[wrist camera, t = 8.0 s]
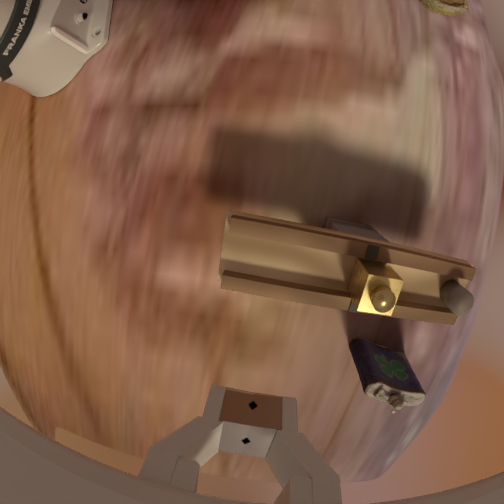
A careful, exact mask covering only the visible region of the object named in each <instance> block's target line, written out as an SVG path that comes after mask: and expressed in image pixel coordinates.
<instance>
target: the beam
mask: <svg viewBox="0 0 504 504" xmlns="http://www.w3.org/2000/svg"><path fill="white" fill-rule="evenodd" d="M356 257H360V258H364V259H366V260H371V261H380V262H385V263H388V264H389V265H390V266H391V267H392V268H393V269H394V270H395V272H396V273H397V274H398V275H399V276H400V277H401V278H402V279H403V280H404V282H403V285H402V288H401V291H400V294H399V296H398V299H397V302H396V305H395V307H394V310H393V313H392V315H391V316H389V315H382V314H375V313H368V312H362V311H357V310H356V307H355V305H354V303H353V301H352V299H351V297H350V294H349V292H348V290H347V287H348V283H349V280H350V277H351V273H352V270H353V266H354V263H355V259H356ZM475 271H476V269H475V268H474V267H473V265H472V264H470V263H469V262H467V261H465V260H462V259H458V258H454V257H450V256H446V255H442V254H438V253H433V252H429V251H425V250H421V249H417V248H412V247H408V246H404V245H400V244H395V243H391V242H389V241H388V240H387V239H385V238H384V237H383V236H382V235H380V234H379V233H378V232H377V231H376V230H374V229H373V228H372V227H371V226H368V225H363V224H359V223H354V222H350V221H345V220H341V219H336V218H331V217H327V220H326V225H325V228H321V227H316V226H311V225H306V224H301V223H296V222H291V221H285V220H280V219H275V218H269V217H264V216H259V215H253V214H248V213H242V212H236V211H231V210H230V211H229V212H228V213H227V217H226V223H225V230H224V237H223V244H222V251H221V258H220V265H219V272H218V280H217V281H218V282H221V288H222V289H227V290H232V291H237V292H243V293H248V294H253V295H259V296H264V297H269V298H275V299H281V300H286V301H292V302H298V303H303V304H309V305H315V306H321V307H328V308H334V309H340V310H347V311H348V312H354V313H359V312H360V313H366V314H373V315H380V316H387V317H395V318H402V319H410V320H417V321H425V322H434V323H442V324H451V325H454V324H455V322H456V319H457V317H458V316H463V315H465V314H467V313H468V312H469V311H470V309H471V308H472V305H473V302H474V298H473V295H472V294H471V293H470V292H469V291H468V290H466V289H465V287H466V285H467V282H468V280H471V281H472V279H473V277H474V274H475Z"/></svg>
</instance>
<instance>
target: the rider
mask: <svg viewBox="0 0 504 504" xmlns="http://www.w3.org/2000/svg"><path fill="white" fill-rule="evenodd" d="M403 282H404V280H403V279H402V278H401V277H400V276H399V275H398V274H397V273H396V272H395V270H394V269H393V268H392V267H391V266H390V265H389V264H388V263H385V262H380V261H371V260H366V259H364V258H360V257H356V259H355V263H354V266H353V270H352V273H351V277H350V280H349V283H348V287H347V290H348V292H349V294H350V297H351V299H352V301H353V303H354V305H355V307H356V310H357V311H362V312H368V313H375V314H382V315H389V316H391V315H392V313H393V310H394V307H395V305H396V302H397V299H398V296H399V294H400V291H401V288H402V285H403Z"/></svg>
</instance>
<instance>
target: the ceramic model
mask: <svg viewBox="0 0 504 504" xmlns="http://www.w3.org/2000/svg"><path fill="white" fill-rule="evenodd" d="M419 1H420V2H421V3H422V4H423V5H424V6H425V7H426V8H427V9H429V10H430V11H433V12H436V13H439V14H444V15H449V16H453V15H458V14H461V13H464V12H465V11H467V7H468V6H467V5H466V0H419Z"/></svg>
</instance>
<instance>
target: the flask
mask: <svg viewBox="0 0 504 504" xmlns="http://www.w3.org/2000/svg"><path fill="white" fill-rule="evenodd" d="M349 349H350V351H351V354H352V357H353V360H354V363H355V365H356V368H357V371H358V374H359V377H360V380H361V383H362V387H363V391H364V393H365V394H366V395H367V396H369V397H372V398H374V399H376V400H378V401H381V402H384V403H387V404H388V405H392V406H394V408H395V409H397V410H399V409H401V408H402V407H403V406H415V405H418V404H420V403H421V402H422V401H423V400H424V399H425V395H426V394H425V392H424V390H423V389H422V387H421V385H420V383H419V381H418V379H417V377H416V375H415V373H414V372H413V370H412V368H411V366H410V364H409V362H408V359H407V358H406V355H405V354H404V353H403V352H401V351H399V350H397V349H396V350H393V349H391V348H389V347H387V346H384V345H379V346H378V345H376V343H371V342H370V341H369V340H366V339H363V338H361V337H360V338H356V339H353V340H352V341H351V343H350V344H349ZM395 409H394V410H392V413H396V410H395ZM397 413H399V411H397Z"/></svg>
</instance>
